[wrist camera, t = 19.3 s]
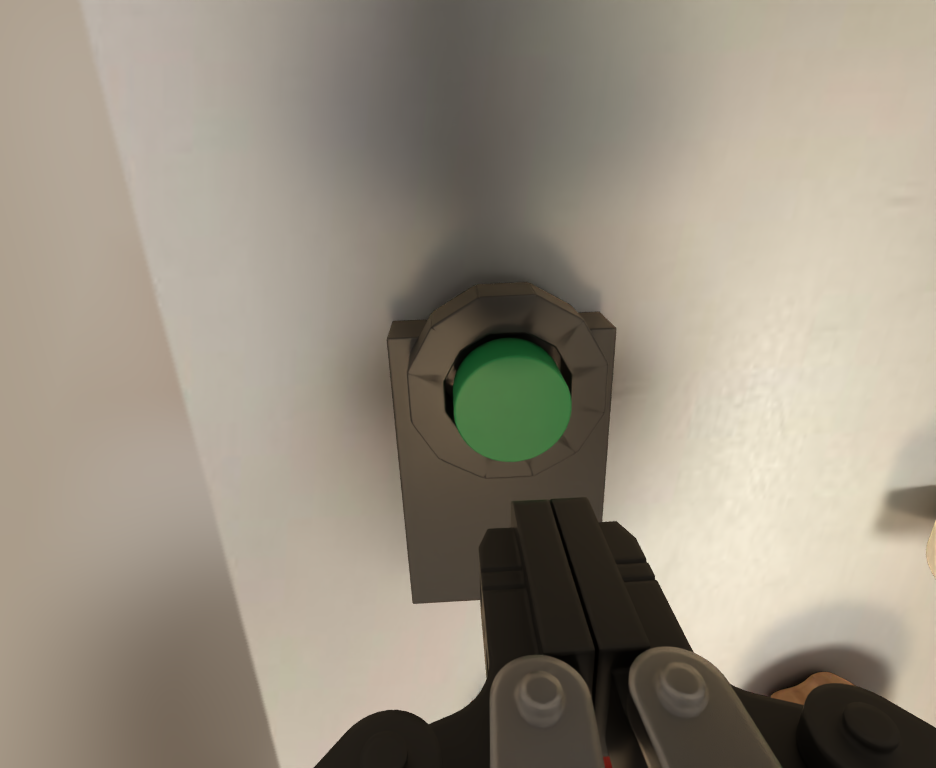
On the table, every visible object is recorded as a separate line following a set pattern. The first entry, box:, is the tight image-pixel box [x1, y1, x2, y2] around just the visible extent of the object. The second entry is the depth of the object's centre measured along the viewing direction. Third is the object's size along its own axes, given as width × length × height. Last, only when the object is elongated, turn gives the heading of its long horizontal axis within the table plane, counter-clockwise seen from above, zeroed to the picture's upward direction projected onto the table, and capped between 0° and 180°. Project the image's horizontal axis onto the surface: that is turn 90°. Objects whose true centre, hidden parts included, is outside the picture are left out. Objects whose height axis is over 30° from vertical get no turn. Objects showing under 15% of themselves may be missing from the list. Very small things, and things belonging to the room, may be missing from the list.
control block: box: [387, 282, 616, 604], centre depth 21 cm, size 14×8×4 cm, turn 2°
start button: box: [453, 338, 572, 462], centre depth 17 cm, size 4×4×2 cm
